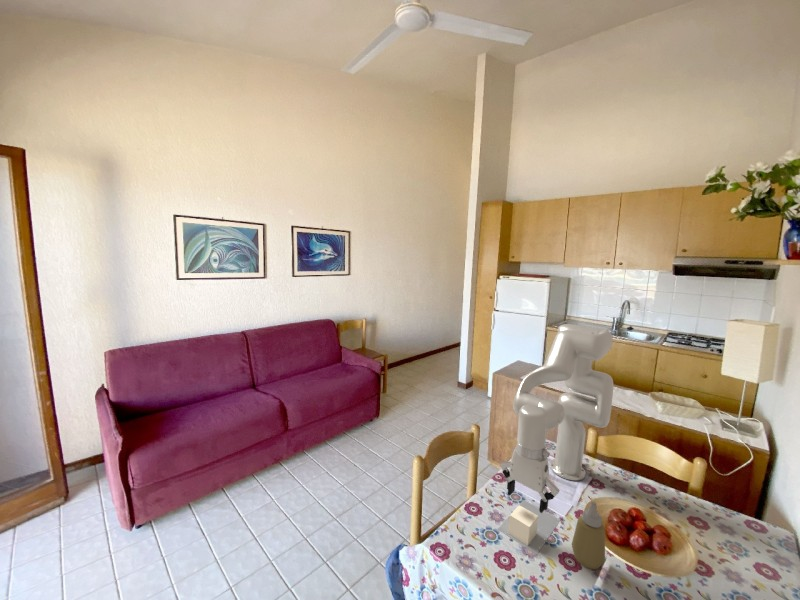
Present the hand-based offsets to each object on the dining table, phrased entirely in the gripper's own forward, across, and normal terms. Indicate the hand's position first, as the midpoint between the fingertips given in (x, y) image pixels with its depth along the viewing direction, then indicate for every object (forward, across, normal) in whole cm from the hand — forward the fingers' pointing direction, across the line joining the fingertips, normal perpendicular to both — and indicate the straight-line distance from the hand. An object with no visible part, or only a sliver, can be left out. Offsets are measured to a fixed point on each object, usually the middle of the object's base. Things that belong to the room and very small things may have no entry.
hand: (526, 501), depth 101 cm
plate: (+12, 0, -4) cm, 12 cm away
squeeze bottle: (+12, -16, -4) cm, 20 cm away
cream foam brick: (+10, 0, +1) cm, 10 cm away
